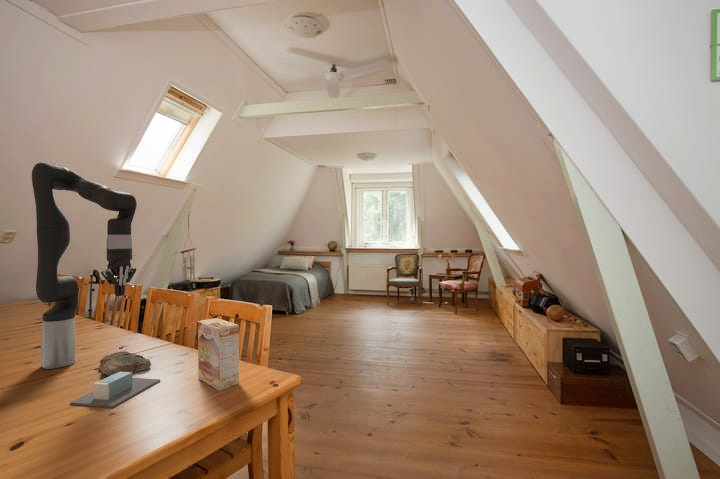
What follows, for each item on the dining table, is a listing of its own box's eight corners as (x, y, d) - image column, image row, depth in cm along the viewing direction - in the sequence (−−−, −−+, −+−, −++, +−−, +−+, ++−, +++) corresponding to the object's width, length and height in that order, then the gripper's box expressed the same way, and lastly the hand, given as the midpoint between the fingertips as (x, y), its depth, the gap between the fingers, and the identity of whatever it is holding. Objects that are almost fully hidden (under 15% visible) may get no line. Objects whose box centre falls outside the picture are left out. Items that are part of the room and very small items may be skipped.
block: (119, 385, 108) (93, 398, 99) (119, 371, 108) (93, 383, 99) (132, 386, 108) (106, 399, 99) (132, 372, 107) (106, 384, 99)
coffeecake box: (197, 378, 115) (197, 320, 115) (217, 372, 120) (217, 317, 120) (218, 391, 105) (218, 328, 105) (239, 384, 111) (239, 324, 111)
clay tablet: (93, 366, 127) (105, 380, 114) (93, 353, 127) (105, 365, 114) (136, 357, 138) (152, 369, 124) (137, 345, 138) (152, 356, 124)
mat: (70, 404, 97) (70, 402, 97) (123, 378, 115) (123, 377, 115) (112, 408, 95) (112, 405, 95) (160, 381, 113) (160, 379, 113)
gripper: (125, 247, 129) (125, 292, 129) (93, 247, 116) (93, 298, 116) (143, 247, 128) (143, 293, 128) (112, 248, 115) (112, 299, 115)
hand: (119, 295), depth 122 cm, fingers closed
